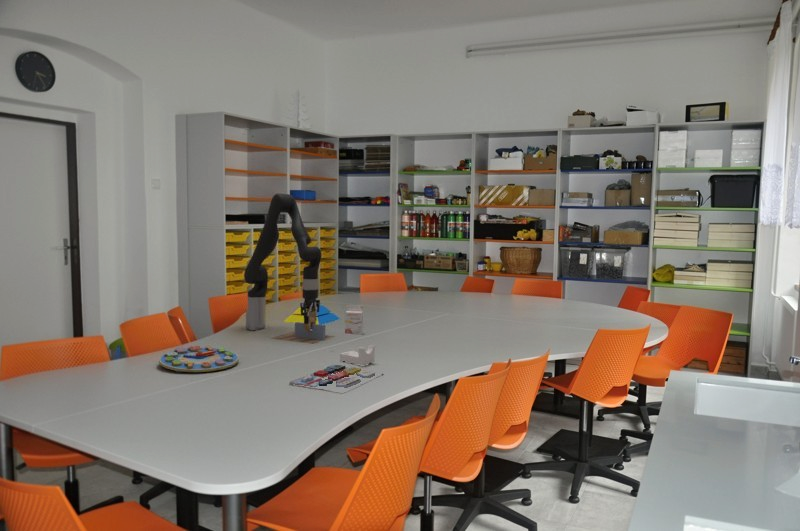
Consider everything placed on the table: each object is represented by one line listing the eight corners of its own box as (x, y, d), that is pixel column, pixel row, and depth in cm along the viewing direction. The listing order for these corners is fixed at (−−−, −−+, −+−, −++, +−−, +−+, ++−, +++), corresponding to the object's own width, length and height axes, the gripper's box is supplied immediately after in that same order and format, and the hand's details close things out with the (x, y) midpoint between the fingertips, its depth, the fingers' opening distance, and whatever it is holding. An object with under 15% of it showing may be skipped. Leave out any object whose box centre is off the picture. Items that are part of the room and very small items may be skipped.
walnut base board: (270, 340, 309) (270, 338, 309) (293, 333, 327) (293, 331, 327) (312, 345, 299) (312, 343, 299) (334, 338, 318) (334, 336, 317)
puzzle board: (342, 395, 222) (342, 388, 222) (288, 386, 233) (288, 379, 233) (384, 376, 250) (384, 369, 249) (334, 368, 260) (334, 362, 260)
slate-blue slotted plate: (294, 336, 314) (294, 322, 313) (297, 336, 316) (297, 322, 315) (323, 340, 307) (323, 325, 307) (325, 339, 309) (325, 325, 309)
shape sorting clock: (164, 378, 239) (164, 362, 239) (154, 360, 266) (154, 346, 265) (247, 370, 253) (247, 355, 253) (229, 354, 280) (229, 340, 280)
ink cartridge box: (344, 334, 327) (344, 306, 326) (346, 333, 332) (346, 304, 331) (361, 335, 326) (361, 306, 325) (362, 333, 331) (363, 305, 330)
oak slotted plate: (304, 331, 309) (304, 312, 308) (311, 328, 315) (311, 310, 314) (308, 331, 308) (308, 312, 307) (315, 329, 314) (315, 311, 313)
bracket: (374, 364, 268) (374, 346, 267) (363, 367, 262) (363, 348, 261) (351, 359, 276) (351, 341, 275) (339, 361, 270) (339, 344, 269)
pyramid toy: (319, 327, 351) (319, 301, 350) (281, 323, 361) (281, 297, 360) (342, 320, 374) (342, 295, 372) (305, 316, 384) (305, 292, 383)
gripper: (311, 286, 318) (311, 319, 319) (295, 289, 305) (295, 324, 306) (324, 287, 315) (324, 321, 316) (308, 290, 302) (308, 325, 303)
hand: (310, 322), depth 311 cm, fingers closed on oak slotted plate, 6 cm apart
